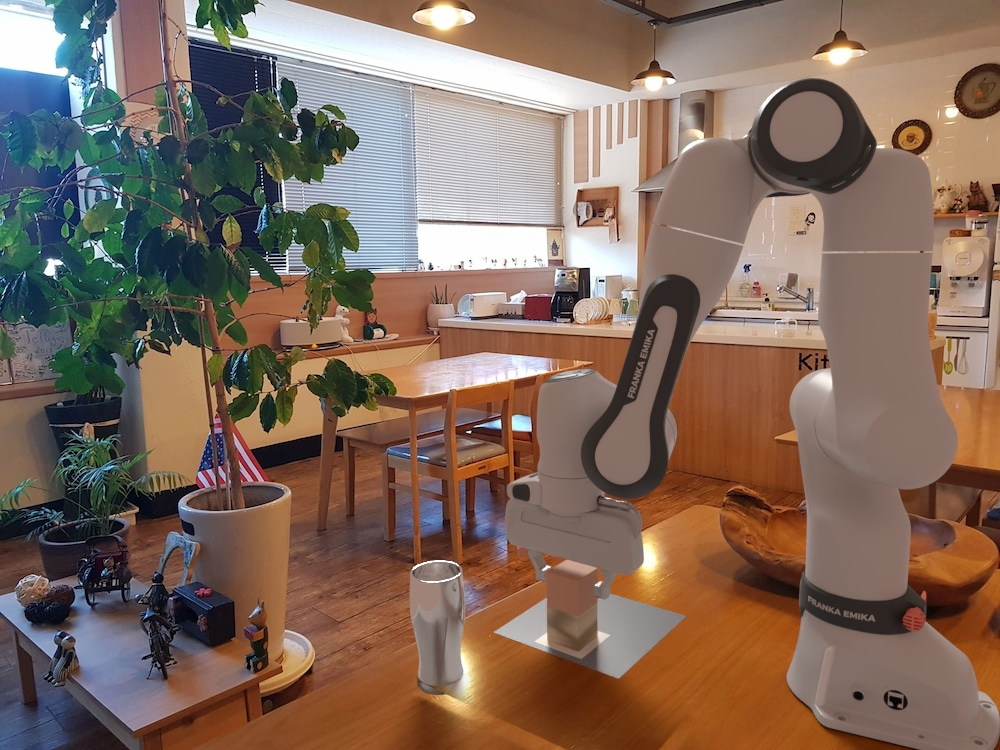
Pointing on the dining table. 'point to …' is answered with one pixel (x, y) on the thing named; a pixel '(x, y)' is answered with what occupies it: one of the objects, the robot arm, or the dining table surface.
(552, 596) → the terracotta block
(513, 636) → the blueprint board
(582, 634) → the maple block
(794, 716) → the dining table surface
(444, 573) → the beer glass
